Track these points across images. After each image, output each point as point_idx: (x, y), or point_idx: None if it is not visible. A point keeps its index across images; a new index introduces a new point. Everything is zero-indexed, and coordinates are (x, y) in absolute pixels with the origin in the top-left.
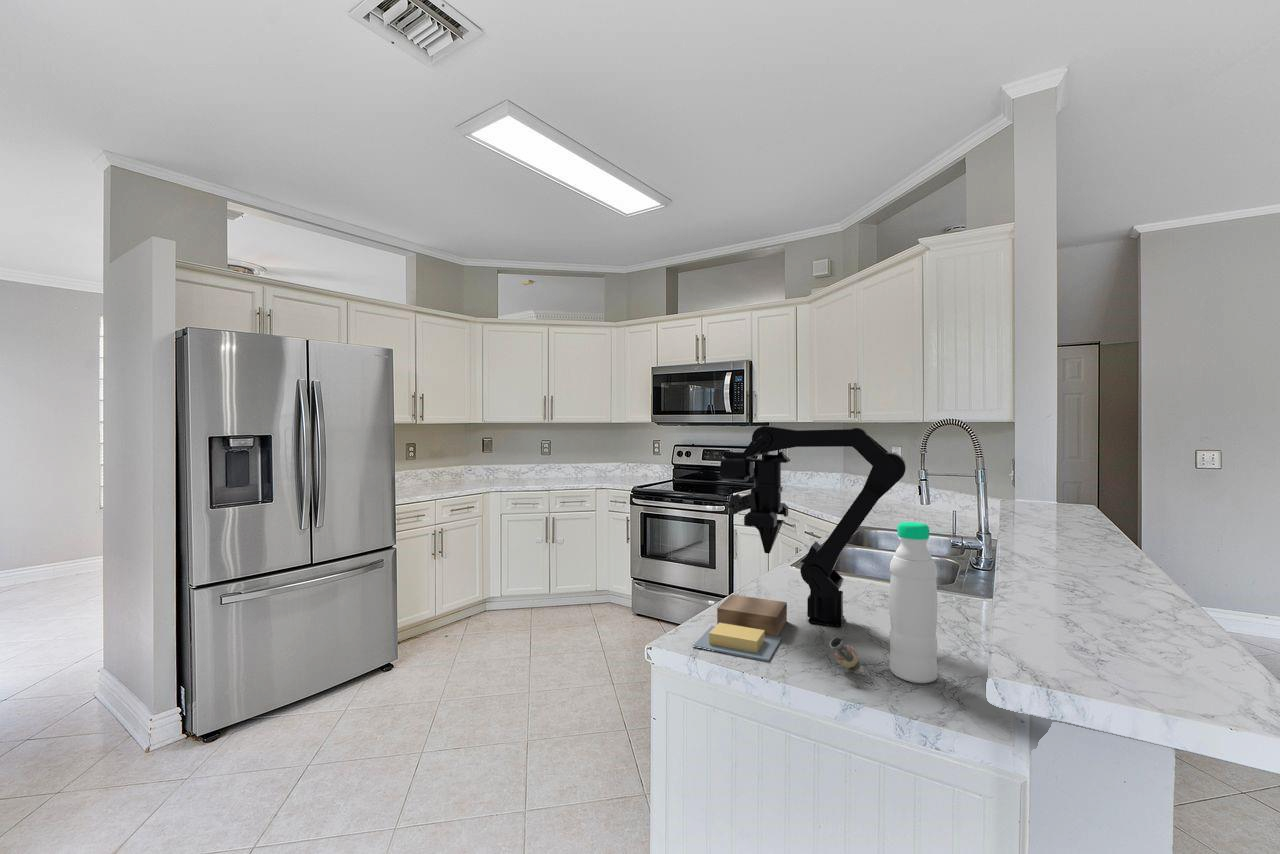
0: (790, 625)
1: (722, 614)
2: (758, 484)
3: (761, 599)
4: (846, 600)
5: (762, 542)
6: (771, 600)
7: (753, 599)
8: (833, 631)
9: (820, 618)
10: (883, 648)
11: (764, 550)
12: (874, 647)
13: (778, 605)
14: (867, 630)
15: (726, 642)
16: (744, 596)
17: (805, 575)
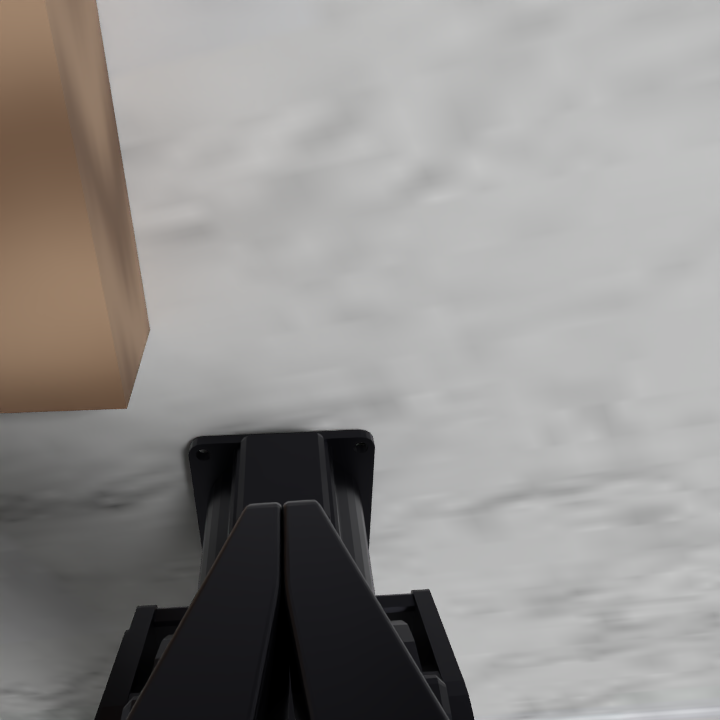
0: None
1: None
2: None
3: (63, 223)
4: (669, 516)
5: (141, 694)
6: (96, 304)
7: (9, 153)
8: (143, 538)
9: (208, 506)
10: (66, 682)
11: (230, 538)
12: (53, 663)
13: (4, 376)
14: None
15: None
16: (47, 33)
17: (101, 715)
